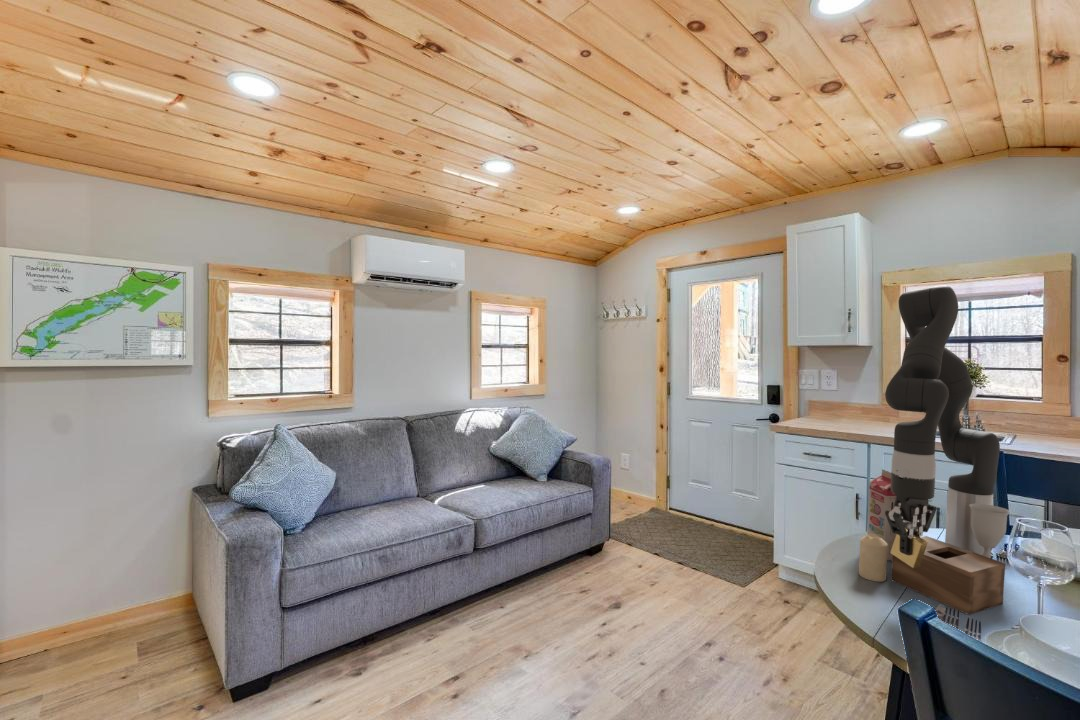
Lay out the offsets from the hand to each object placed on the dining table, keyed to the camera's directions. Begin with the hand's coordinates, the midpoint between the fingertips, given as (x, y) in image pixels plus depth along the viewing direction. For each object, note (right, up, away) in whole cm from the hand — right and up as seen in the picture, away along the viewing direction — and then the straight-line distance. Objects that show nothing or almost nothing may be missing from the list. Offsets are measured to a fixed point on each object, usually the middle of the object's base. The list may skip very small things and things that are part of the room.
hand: (909, 552), depth 110 cm
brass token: (0, -2, +1) cm, 2 cm away
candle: (+1, -11, +14) cm, 18 cm away
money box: (+13, -11, +7) cm, 19 cm away
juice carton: (+13, -11, +27) cm, 31 cm away
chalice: (+26, -12, +11) cm, 30 cm away
